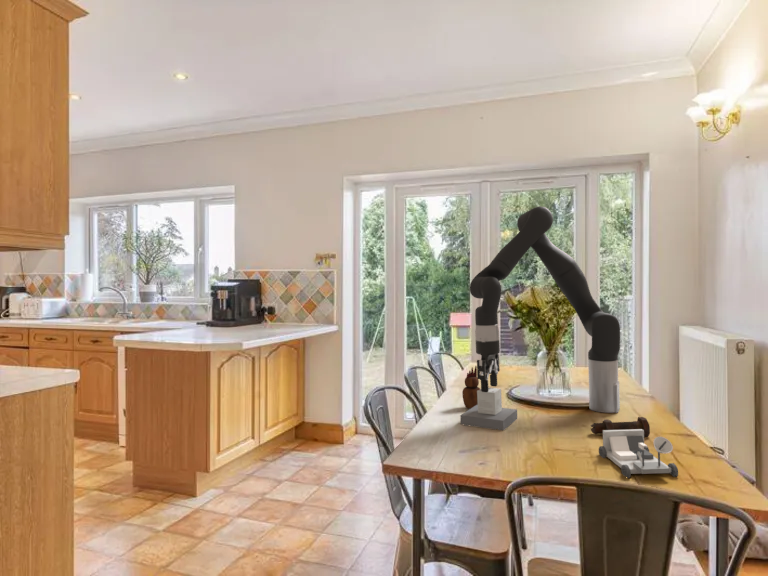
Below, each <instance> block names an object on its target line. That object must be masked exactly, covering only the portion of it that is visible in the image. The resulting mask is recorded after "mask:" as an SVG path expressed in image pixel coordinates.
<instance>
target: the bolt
mask: <svg viewBox="0 0 768 576" xmlns="http://www.w3.org/2000/svg"><path fill="white" fill-rule="evenodd" d="M590 427H591V428H590V431H591V433H592V434H593V435H603V430H630V429H642V430H644V438H649V436H650V434H651V429H650V423H649V421H648V420H647V418H646V417H643V416H638V417H637V420H633V421H615V422H614V421H612V420H610V419H603V420H602V422H593V423H592V424H591V425H590Z"/></svg>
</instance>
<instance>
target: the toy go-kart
mask: <svg viewBox="0 0 768 576" xmlns="http://www.w3.org/2000/svg"><path fill="white" fill-rule="evenodd" d="M653 447H654V449H655V450H656V452H657V457H656V456H654V454H653V453H651V452H650V449H649V447H648V445H647V444H645V437H644V430H642V429H630V430H603V434H602V445H600V446H598V455H599V456H600V457H601V458H603V459H606V458H608V459H610V461H612V462H613V463H614V465H616V466H618V467H619V468H620V470H621V474H623V475H622V476H623V477H625V476H626V477H627V478H626V477H625V478H626V479H630V478H631V476H632V475H633V474H642V475H644V474H645V475H646V474H669V475H671V476H672V477H674V478H675V477H678V476H679V469H678V467H677V465H676V464H675V463H672V462H671V463H668V464H666V463H664V462H663V461H662V460H661V454H671V453H672V451H673V449H674V447H673V444H672V442H671V441H670V440H669V439H668V438H666V437H664V436H656V437H655V438H654V439H653ZM631 474H632V475H631Z"/></svg>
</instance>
